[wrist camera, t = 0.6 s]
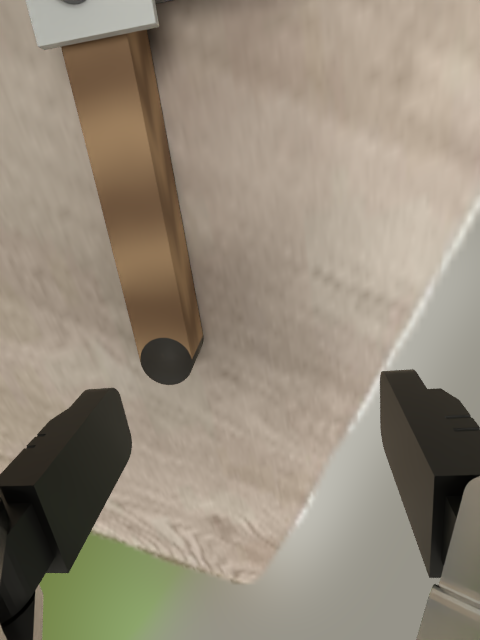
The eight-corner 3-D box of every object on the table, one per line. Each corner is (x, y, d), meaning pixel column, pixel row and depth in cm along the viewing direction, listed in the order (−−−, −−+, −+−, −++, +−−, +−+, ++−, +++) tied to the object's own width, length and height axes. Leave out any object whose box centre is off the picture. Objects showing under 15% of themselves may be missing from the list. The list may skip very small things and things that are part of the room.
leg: (75, -21, 22) (34, -58, 18) (134, -35, 22) (105, -75, 18) (162, 359, 31) (146, 386, 27) (206, 355, 30) (196, 383, 27)
